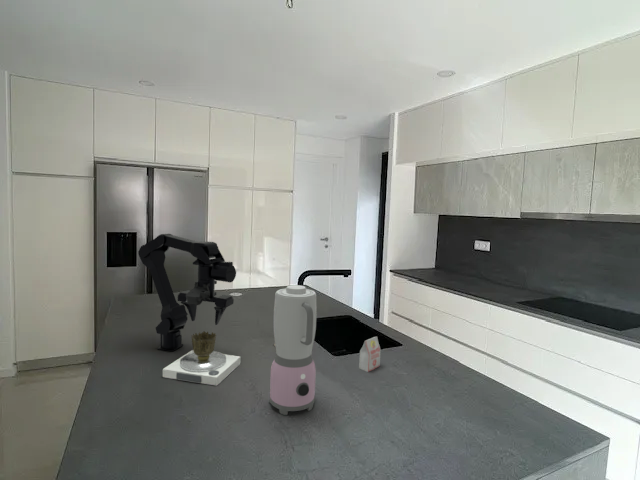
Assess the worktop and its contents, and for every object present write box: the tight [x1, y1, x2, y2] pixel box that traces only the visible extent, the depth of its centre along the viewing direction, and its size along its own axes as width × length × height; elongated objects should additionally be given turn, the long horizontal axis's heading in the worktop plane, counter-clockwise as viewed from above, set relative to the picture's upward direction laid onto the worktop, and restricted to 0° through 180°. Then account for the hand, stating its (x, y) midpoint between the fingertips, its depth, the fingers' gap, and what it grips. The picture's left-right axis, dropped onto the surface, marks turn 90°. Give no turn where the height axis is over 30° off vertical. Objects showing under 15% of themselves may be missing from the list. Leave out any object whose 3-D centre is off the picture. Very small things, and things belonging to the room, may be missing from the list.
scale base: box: [162, 349, 242, 386], centre depth 118 cm, size 18×16×3 cm
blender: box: [269, 284, 318, 416], centre depth 98 cm, size 16×12×32 cm
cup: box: [191, 330, 217, 361], centre depth 117 cm, size 8×7×8 cm
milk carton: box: [358, 336, 382, 373], centre depth 125 cm, size 4×7×10 cm, turn 136°
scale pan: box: [180, 350, 226, 372], centre depth 118 cm, size 14×14×1 cm
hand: (204, 322), depth 129 cm, fingers open, 9 cm apart
